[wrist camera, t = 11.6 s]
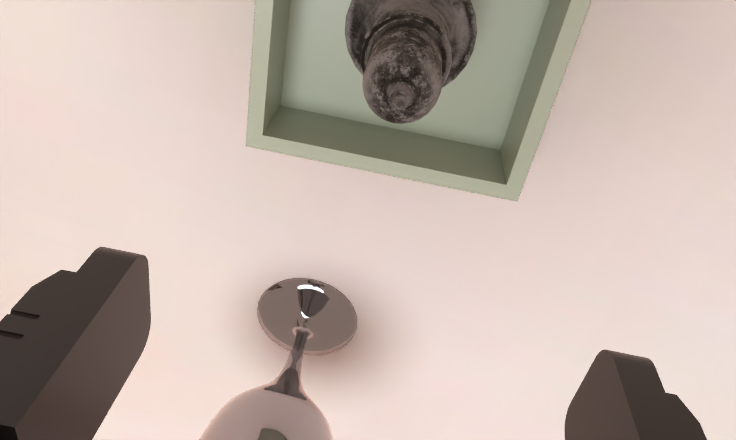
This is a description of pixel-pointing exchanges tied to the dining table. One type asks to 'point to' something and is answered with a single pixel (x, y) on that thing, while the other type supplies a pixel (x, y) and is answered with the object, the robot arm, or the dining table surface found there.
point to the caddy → (445, 120)
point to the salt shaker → (408, 51)
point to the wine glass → (289, 364)
